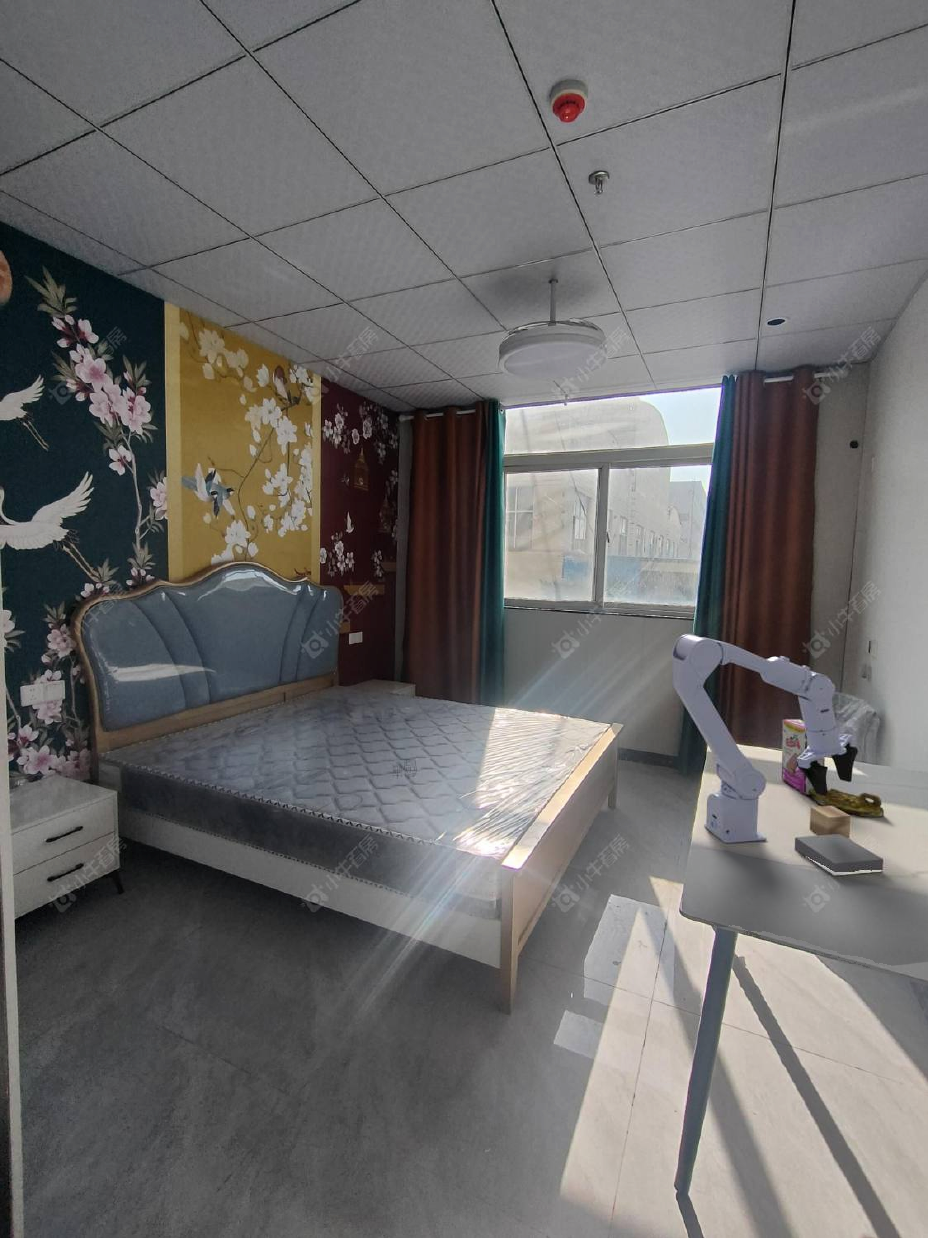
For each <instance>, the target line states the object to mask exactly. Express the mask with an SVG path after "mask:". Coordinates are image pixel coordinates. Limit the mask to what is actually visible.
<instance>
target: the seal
mask: <svg viewBox="0 0 928 1238" xmlns="http://www.w3.org/2000/svg"><path fill="white" fill-rule="evenodd" d="M827 790H828V793H827V795H826V796H823V795H819V794H816V792H815V790H814V789H810V790H809V794H811V795H810V796H812V798H813V800H814V801H815V802H816V803H818V804H819V805H821V806H833V807H835V808H837V809H839V810H841V811H842V812H844V813H846V814H851V815H856V816H858V817H859V816H860V817H870V818H873V817H874V818H876V817H883V816H884V815H885V811H884V808H883V807H881V806H882V799H881V797H879V796H878V795H875V794H871V793H868V792H862V793H860V794H859V795H855V794H851V793H848V792H844V791H840V790H838V789H837V788H836V789H835V788H830V789H827ZM869 799H870V800H872V801H870V800H869Z"/></svg>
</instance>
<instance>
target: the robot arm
mask: <svg viewBox="0 0 928 1238" xmlns="http://www.w3.org/2000/svg"><path fill="white" fill-rule="evenodd" d="M670 656H671V659H672V669H673V670H672V676H673V677H672V685H673V687H674V689H675V691H676V693H677V694H678V696H679V698H680V700H681V702H682V703H683V705H684V707H685V708H686V710H687V712H688V713H689V715H690V718H691V719H692V720H693V722H694V724H695V725H696V728H697V729H698V730H699V732H700V734H701V736H702V737H703V739H704V741H705V743H706V744H707V746H708V747H709V749H710V751H711V753H712V755H713V756H712V759H713V762H714V764H715V771H716V772H715V773H716V776H717V778H718V779H719V780H720V790H718V791H716V792H715V793H714V792H713V793H711V794H709V795H708V797H707V800H706V818H705V819H706V820H705V821H706V822H705V823H704V824H703V827H705V828H706V830H707V829H708V830H709V831H710V832H711V833H712V834H713V835H715V836H716V837H717V838H718V839H720V840H721V841H722V842H723V843H726V844H728V843H741V842H742V843H743V842H755V841H756V842H757V841H766V840H767V836H765V835H764V834H762V833H761V832H759V831H758V816H759V815H758V814H759V799H760V796H761V795H762V794H763V793H764V791H765V790H766V788H767V787H766V786H767V781H766V780H767V779H766V777H765V776H764V774H763V773H762V772H761V771H760V770H758V769H756V768H755V767H754V766H753V765H752V762H751V761H750V760H749V759H748V758H747V757H746V755H745V754H744V753H743V752H742V751H741V750H740V749H739V746H738V745H737V743H736V740H734V738H733V736H732V735H731V733H730V731H729V730H728V727H727V726H726V724H725V723H724V721H723V719H722V716H720V713H718V710H717V709H716V707H715V706H714V704H713V702H712V700H711V699H710V697H709V696H708V693H707V692H706V690H705V688H704V684H705V683H706V680H707V678H709V676H710V675H711V673H713V671H714V670H715V669H716V668H717V667H718V666H719V665H721V666H724V665H726V664H727V665H728V664H729V663H732V664H735V665H737V666H740V667H744V668H746V669H748V670H751V671H754V672H757V673H759V674H760V677H761V679H762V681H763V682H764V683H767V684H770V685H772V686H774V687H777V688H778V689H782V690H785V691H787V692H789V693H792V694H793V695H795V696H796V695H797V698H798V703H799V708H800V712H801V717H802V721H803V722H804V726H805V731H806V735H807V740H808V744H809V746H808V747H807V749H806V750H805V751H804V752H803V754H802V755H801V756H799V757H798V758H797V761H798V762H797V766H798V768H799V769H800V770H801V771H802V772H803V773H804V774H805V775H806V777H807V778H808V780H809V781H810V783H811V784H812V786H813V788H814V790H815V792H816V794H819V795H823V796H826V795H827V793H828V790H829V789H828V784H827V783H828V782H827V773H828V768H829V767H828V766H826V765H825V766H822V765H820V763H818V760H820V759H822V758H827V757H831V759H832V761H833V763H834V765H835V770H836V773H837V775H838V778H839V780H840V781H844V782H848V783H851V782H852V779H853V770H854V769H853V768H854V763H855V760H856V757H857V755H858V753H859V750H858V747H855V746H852V745H854V744H855V742H854V737H853V735H852V734H849V733H847V734H846V733H841V734H839V731H838V730H839V729H838V727H837V722H836V717H835V713H834V708H833V704H834V703H833V699H832V698H833V696H834V694H835V691H836V685H835V684H834V683H832V680H831V679H830V678H829V677H828V676H827V675H824V674H822V673H818V672H815V671H813V670H811V668H810V667H809V666H807V665H799V664H795V663H793V662H790V657H789V658H788V657H786V656H782V655H780V656H778V657H777V656H772V657H769V658H764V657H762V656H760V655H757V654H755V653H752V652H750V651H747V650H746V649H743V648H741V647H738V646H736V645H734V644H731V643H728V642H724V641H722V640H721V641H720V640H716V639H713V638H709V637H708V638H707V637H701V636H698V635H696V634H694V633H693V634H692V633H685V634H683V635H681V636H680V637H679V638H677V640H676V641H675V643H674V645H673V647H672V650H671V653H670Z"/></svg>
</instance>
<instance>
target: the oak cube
mask: <svg viewBox="0 0 928 1238" xmlns="http://www.w3.org/2000/svg"><path fill="white" fill-rule="evenodd" d="M809 817H810V818H809V830H810V831H812V832H813V833H816V834H817V836H820V835H833V834H841V835H843V836H845V837H846V838H849V839H850V834H851V833H850V831H851V818H852V817H851V815H850V814H849V813H847V812H842V811H841V810H839V809H837V808H835V807H833V806H823V805H821V806H811V807H810V815H809Z"/></svg>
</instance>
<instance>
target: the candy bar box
mask: <svg viewBox="0 0 928 1238" xmlns="http://www.w3.org/2000/svg"><path fill="white" fill-rule="evenodd" d="M781 724H782V725H781V727H782V729H781V731H782V734H781V735H782V737H781V780H782V781H784V782H785V783H787V784H789V785H790V786H791V787H793V788H795V789H796V790H798V791H799V792H801V793H802V794H804V795H809V796H812V795H811V794H809V790H810V789H814V788H813V786H812V784H811V783H810V781H809V780H808V778H807V777H806V775H805V774H804V773H803V772H802V771H801V770H800V769H799V768H798V766H797V762H798V761H797V758H798V757H799V756H801V755H802V754H803V752H804V751H805V750H806V749H807V747H808V746H809V744H808V740H807V735H806V731H805V726H804V722H803V719H795V718H793V719H788V718H787V719H782V723H781ZM825 758H826V757H825ZM825 758H822V759H820V760H818V763H820V765H822V766H826V765H825V761H826V760H825Z"/></svg>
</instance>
